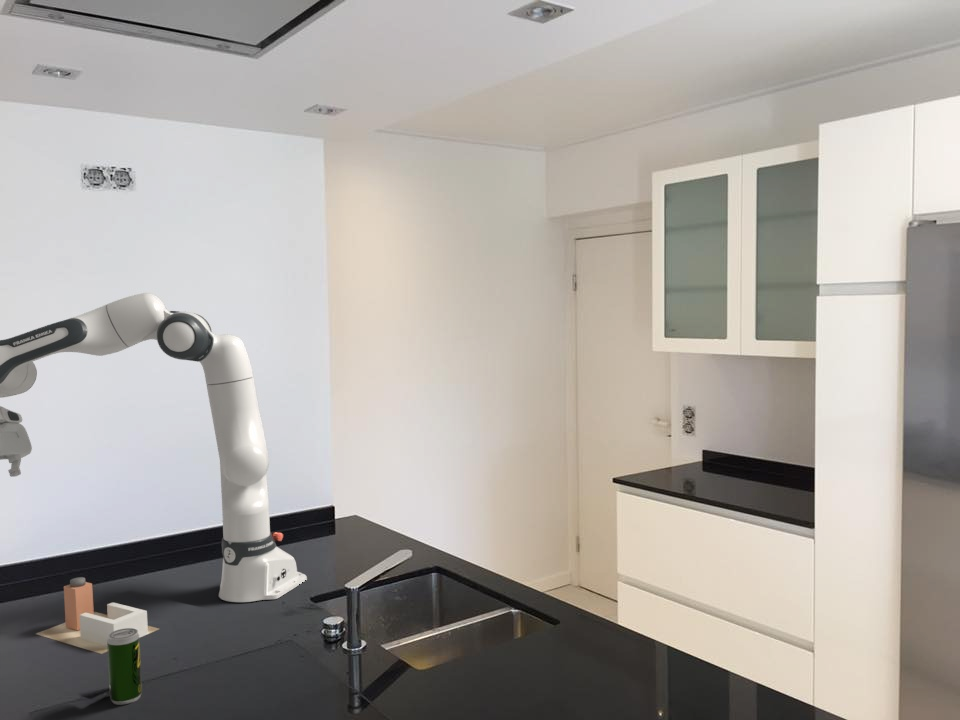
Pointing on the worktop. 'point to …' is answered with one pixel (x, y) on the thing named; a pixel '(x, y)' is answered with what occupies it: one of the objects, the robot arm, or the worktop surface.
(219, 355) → the robot arm
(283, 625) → the worktop surface
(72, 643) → the base board
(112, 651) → the beer can
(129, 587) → the worktop surface
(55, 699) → the worktop surface
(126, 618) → the socket
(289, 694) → the worktop surface
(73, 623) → the plug
